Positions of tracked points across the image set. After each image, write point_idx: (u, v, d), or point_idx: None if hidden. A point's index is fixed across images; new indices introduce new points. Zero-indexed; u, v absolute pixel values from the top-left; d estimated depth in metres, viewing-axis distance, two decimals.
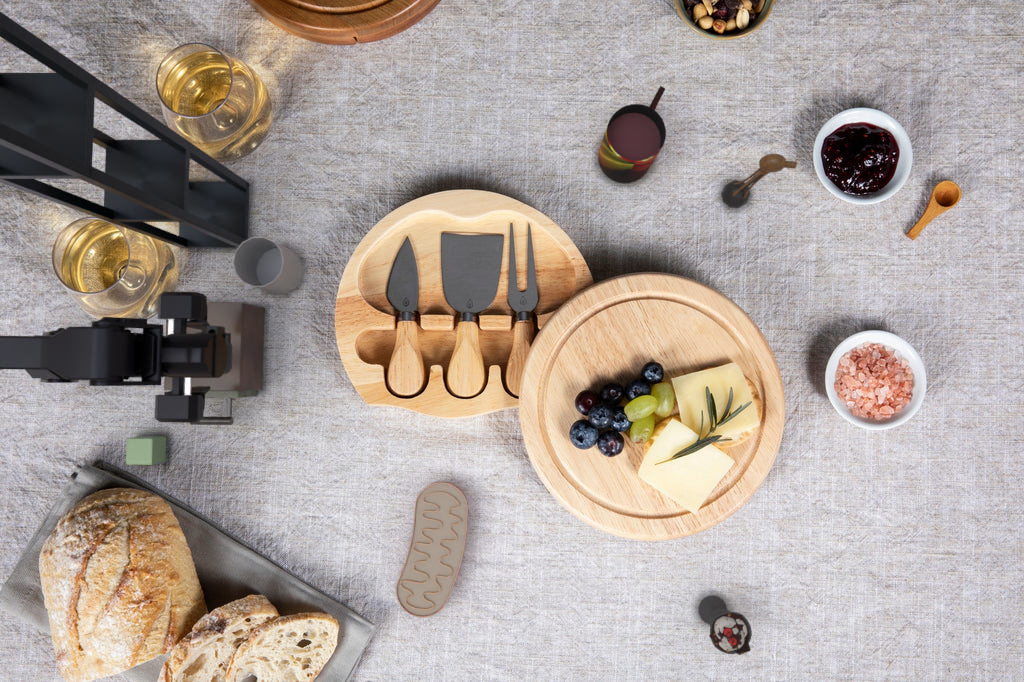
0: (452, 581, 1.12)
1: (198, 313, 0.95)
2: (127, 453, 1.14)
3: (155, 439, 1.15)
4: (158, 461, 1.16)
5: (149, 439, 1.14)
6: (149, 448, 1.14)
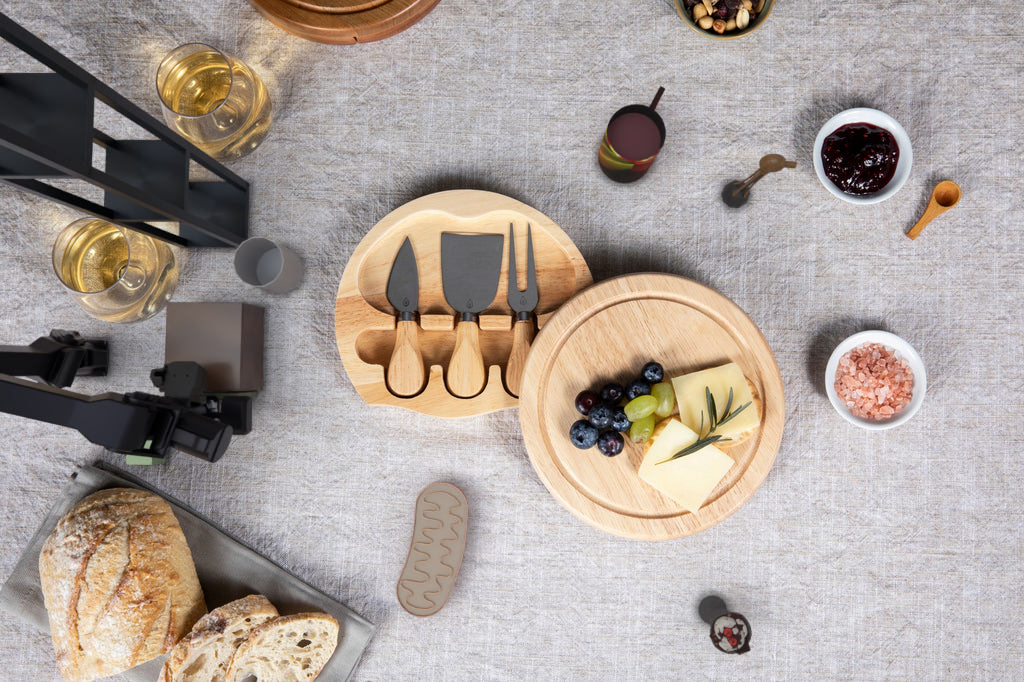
0: (452, 581, 1.12)
1: None
2: None
3: None
4: (158, 461, 1.16)
5: None
6: None
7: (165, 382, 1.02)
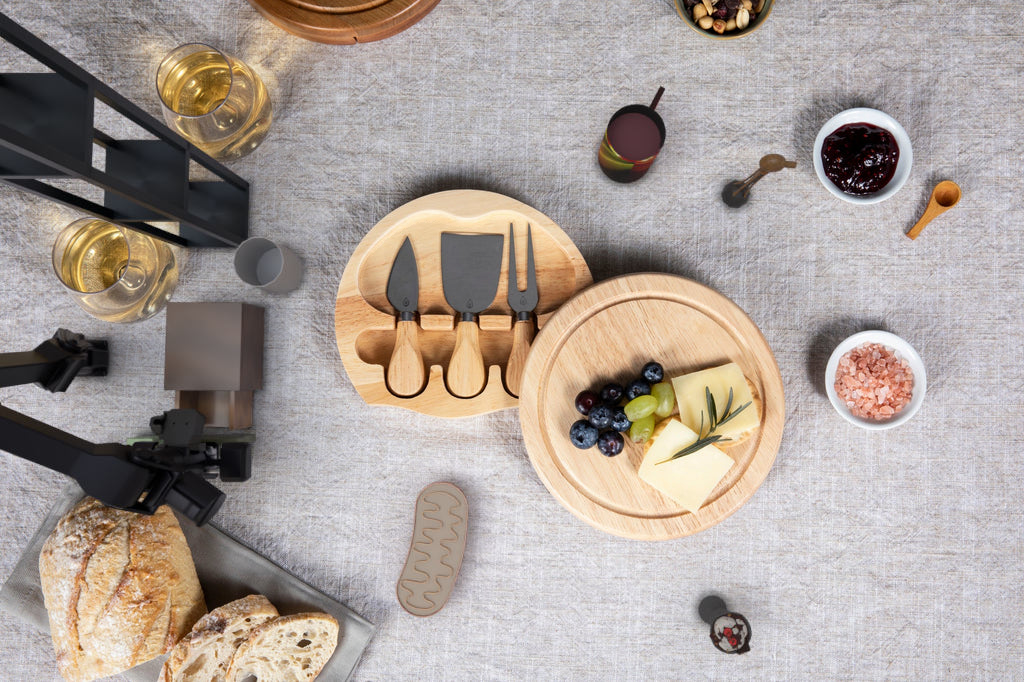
0: (452, 581, 1.12)
1: (149, 443, 1.05)
2: None
3: (155, 439, 1.15)
4: None
5: (149, 439, 1.14)
6: None
7: (164, 430, 1.02)
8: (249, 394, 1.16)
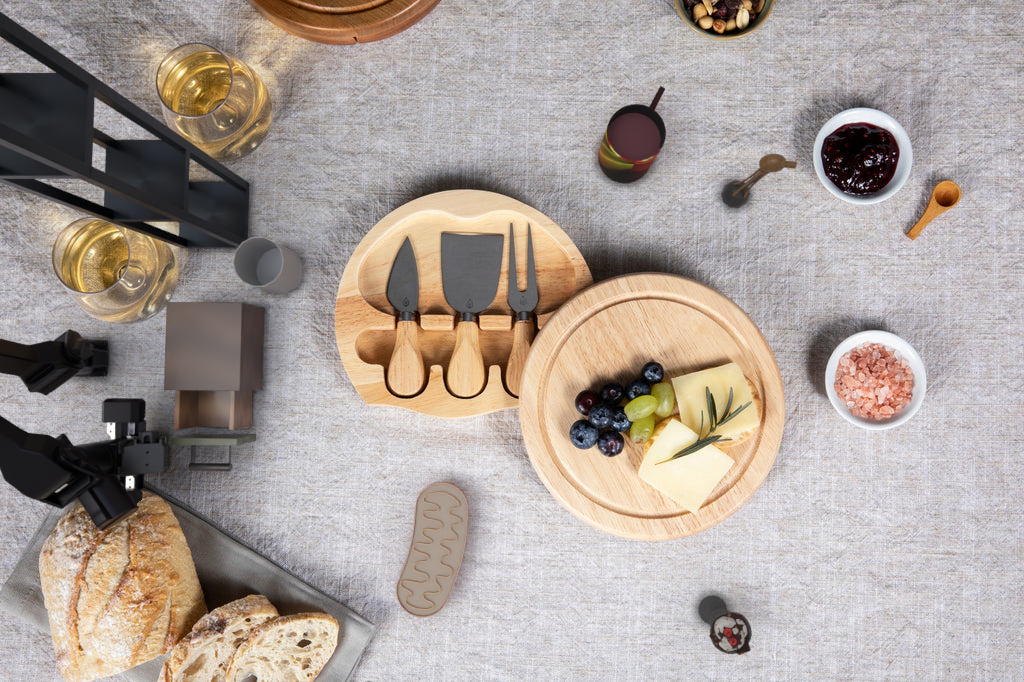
0: (452, 581, 1.12)
1: (137, 417, 1.08)
2: None
3: None
4: None
5: None
6: None
7: (139, 445, 1.05)
8: (249, 394, 1.16)
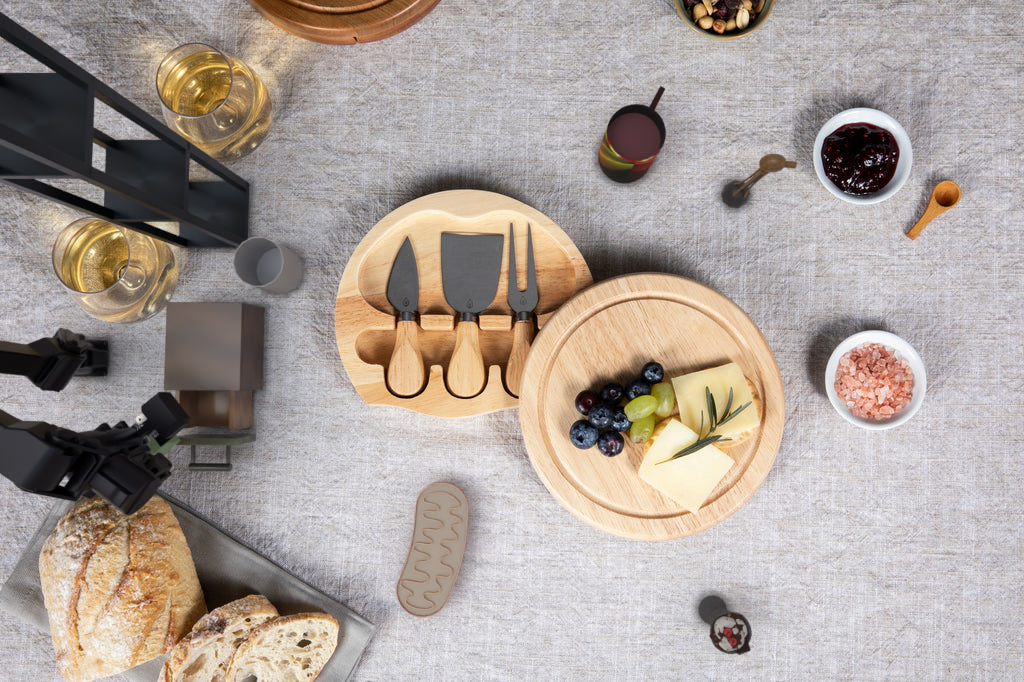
0: (452, 581, 1.12)
1: (169, 434, 0.98)
2: None
3: (168, 443, 1.05)
4: None
5: None
6: (155, 448, 1.04)
7: (144, 467, 0.95)
8: (249, 394, 1.16)
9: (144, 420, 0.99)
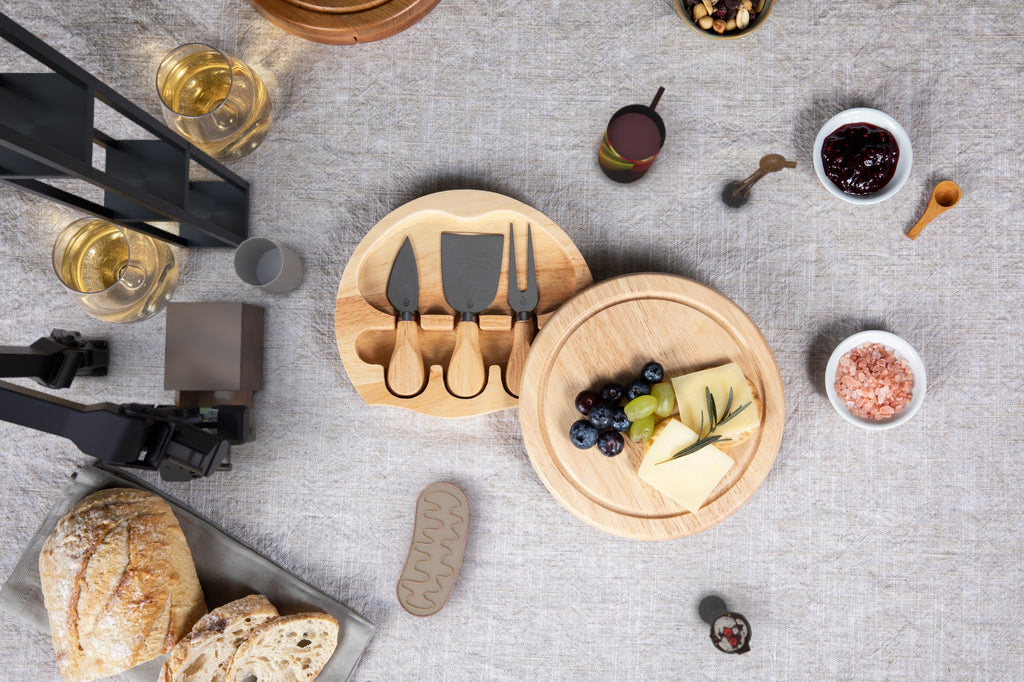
0: (452, 581, 1.12)
1: None
2: (207, 409, 1.12)
3: None
4: None
5: None
6: None
7: None
8: (249, 394, 1.16)
9: (214, 417, 1.04)
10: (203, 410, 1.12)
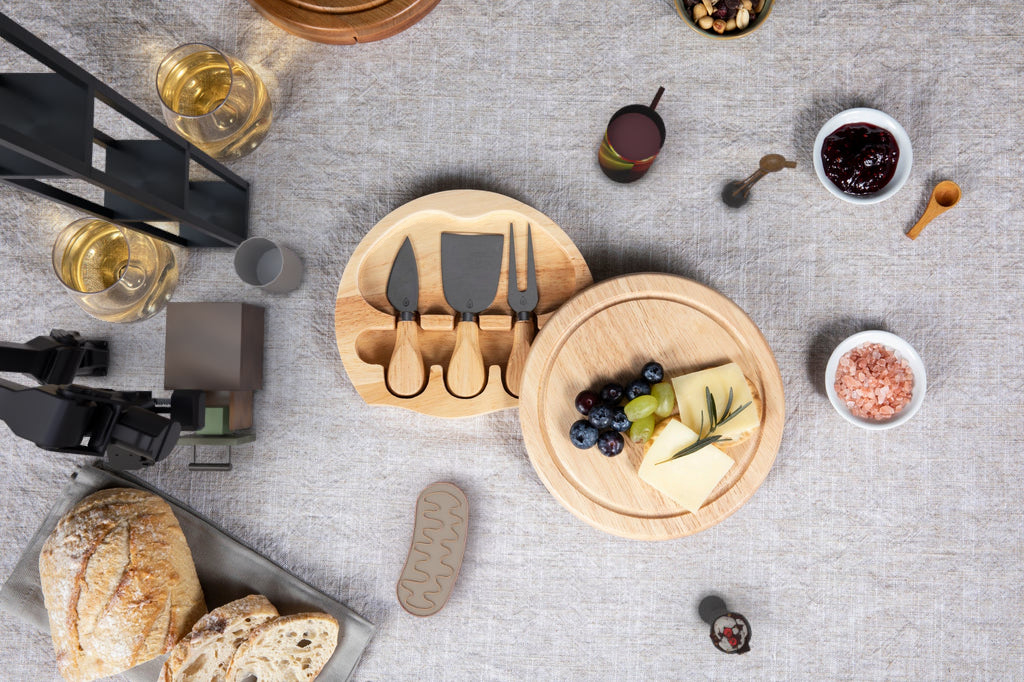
0: (452, 581, 1.12)
1: None
2: (207, 409, 1.12)
3: (223, 433, 1.13)
4: None
5: (221, 431, 1.12)
6: (212, 431, 1.12)
7: None
8: (249, 394, 1.16)
9: None
10: None
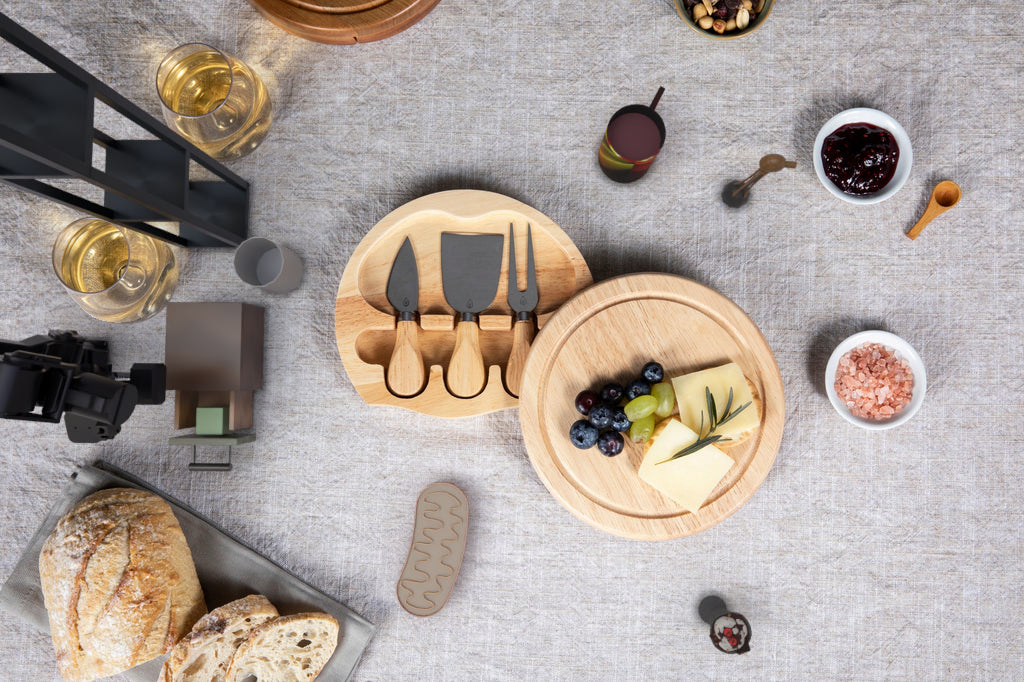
0: (452, 581, 1.12)
1: (137, 403, 0.97)
2: (207, 409, 1.12)
3: (223, 433, 1.13)
4: None
5: (221, 431, 1.12)
6: (212, 431, 1.12)
7: (96, 420, 0.94)
8: (249, 394, 1.16)
9: None
10: (203, 410, 1.12)
